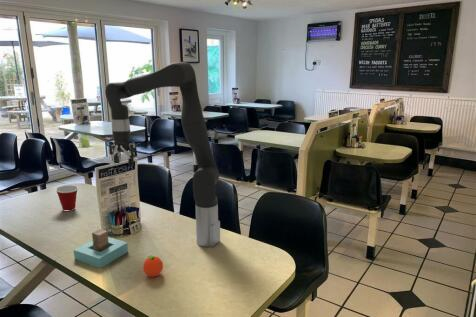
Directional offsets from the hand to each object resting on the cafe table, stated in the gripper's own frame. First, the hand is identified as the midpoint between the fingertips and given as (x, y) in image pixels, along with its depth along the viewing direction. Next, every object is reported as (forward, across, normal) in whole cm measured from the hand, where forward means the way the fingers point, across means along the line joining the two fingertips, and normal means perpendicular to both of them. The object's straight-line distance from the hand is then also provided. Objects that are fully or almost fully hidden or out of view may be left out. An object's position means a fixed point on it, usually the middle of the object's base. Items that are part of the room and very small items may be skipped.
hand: (124, 165), depth 157 cm
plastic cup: (+30, -44, +2) cm, 53 cm away
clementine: (+30, +36, -25) cm, 53 cm away
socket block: (+30, +9, -24) cm, 40 cm away
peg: (+30, +9, -24) cm, 39 cm away
